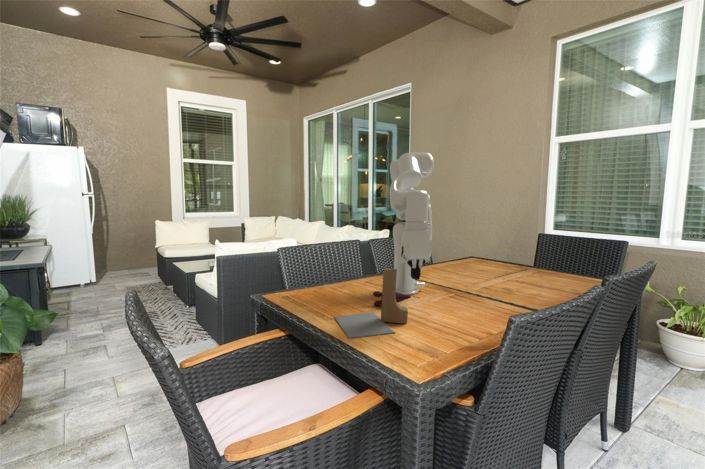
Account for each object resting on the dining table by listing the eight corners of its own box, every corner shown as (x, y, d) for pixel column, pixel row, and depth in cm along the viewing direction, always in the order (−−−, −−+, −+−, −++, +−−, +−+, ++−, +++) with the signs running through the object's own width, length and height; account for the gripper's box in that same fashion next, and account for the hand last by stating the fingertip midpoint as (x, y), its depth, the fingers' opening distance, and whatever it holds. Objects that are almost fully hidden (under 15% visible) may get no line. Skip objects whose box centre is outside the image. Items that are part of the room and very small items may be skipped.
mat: (373, 313, 132) (373, 312, 132) (394, 333, 113) (394, 332, 113) (334, 317, 128) (334, 316, 128) (349, 338, 109) (349, 337, 109)
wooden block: (406, 319, 125) (409, 269, 124) (407, 324, 121) (410, 272, 119) (381, 317, 126) (383, 267, 125) (380, 321, 122) (383, 270, 120)
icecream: (409, 287, 145) (373, 290, 146) (410, 287, 137) (372, 290, 139) (411, 305, 144) (374, 307, 145) (412, 305, 136) (373, 308, 138)
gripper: (430, 225, 128) (429, 275, 130) (392, 226, 124) (391, 277, 126) (441, 226, 121) (440, 279, 123) (400, 228, 117) (400, 282, 119)
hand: (415, 278), depth 124 cm, fingers closed
